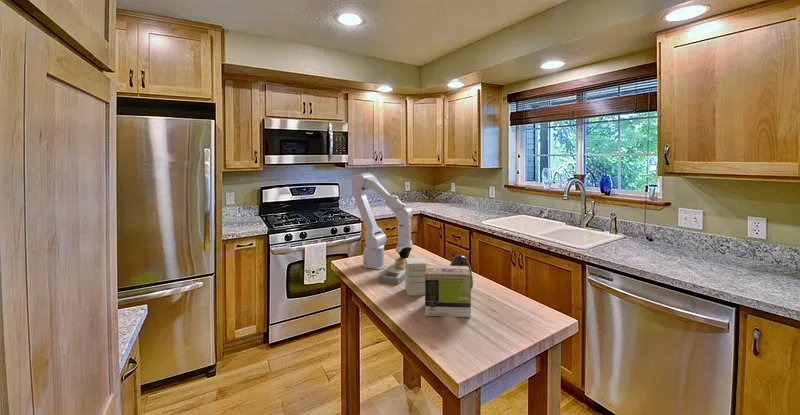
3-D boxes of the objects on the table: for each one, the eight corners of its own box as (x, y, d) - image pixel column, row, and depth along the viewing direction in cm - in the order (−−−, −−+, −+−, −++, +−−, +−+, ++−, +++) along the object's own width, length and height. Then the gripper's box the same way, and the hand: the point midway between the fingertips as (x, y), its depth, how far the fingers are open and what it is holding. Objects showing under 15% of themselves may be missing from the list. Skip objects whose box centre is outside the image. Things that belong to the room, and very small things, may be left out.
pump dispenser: (449, 300, 132) (450, 259, 130) (443, 289, 143) (443, 251, 140) (476, 298, 133) (477, 259, 131) (468, 288, 144) (469, 251, 141)
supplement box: (404, 288, 143) (404, 257, 141) (423, 287, 144) (423, 257, 142) (406, 295, 136) (406, 263, 134) (426, 295, 137) (426, 263, 135)
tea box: (468, 305, 128) (469, 265, 125) (470, 318, 118) (472, 275, 116) (425, 303, 129) (425, 263, 127) (424, 316, 119) (424, 273, 117)
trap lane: (378, 281, 151) (378, 273, 150) (402, 264, 172) (402, 257, 172) (398, 284, 147) (398, 276, 147) (419, 267, 169) (419, 260, 168)
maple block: (395, 268, 159) (395, 259, 159) (398, 266, 163) (398, 257, 162) (403, 269, 158) (403, 261, 157) (407, 267, 161) (407, 258, 161)
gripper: (406, 238, 153) (406, 269, 155) (418, 231, 166) (418, 260, 168) (391, 236, 156) (391, 267, 158) (404, 230, 169) (404, 258, 171)
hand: (404, 263), depth 163 cm, fingers closed
